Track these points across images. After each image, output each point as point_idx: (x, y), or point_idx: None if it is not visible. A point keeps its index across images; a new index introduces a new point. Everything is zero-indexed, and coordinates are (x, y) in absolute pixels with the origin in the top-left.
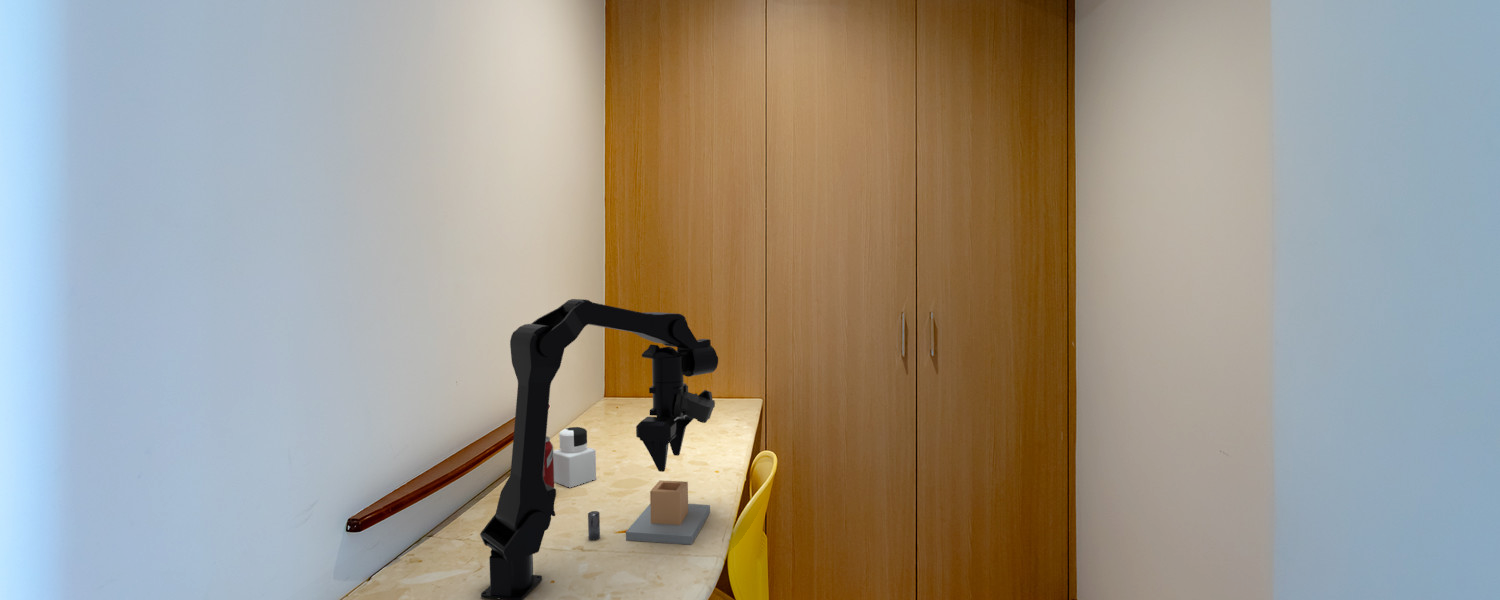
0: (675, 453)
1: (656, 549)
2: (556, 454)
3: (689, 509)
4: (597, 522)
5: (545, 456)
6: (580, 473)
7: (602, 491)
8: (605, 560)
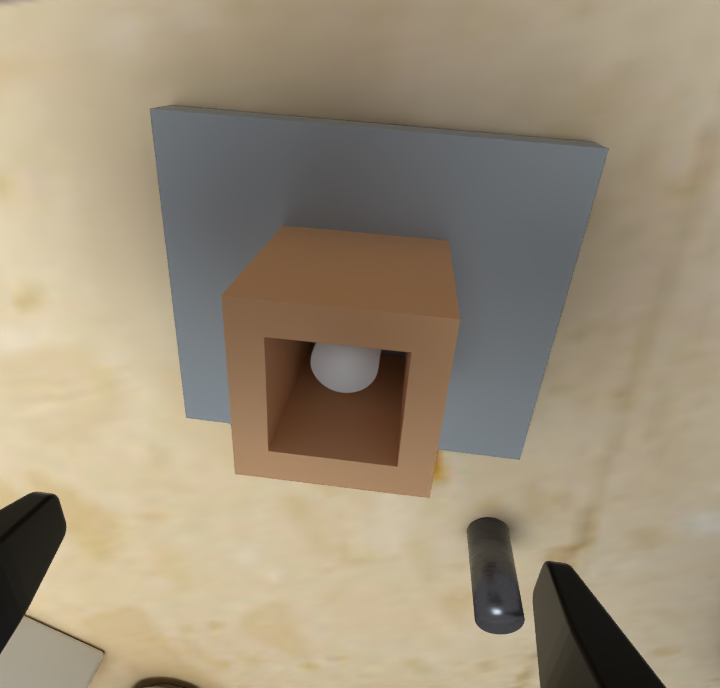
0: (49, 533)
1: (619, 306)
2: None
3: (241, 225)
4: (509, 576)
5: None
6: (41, 675)
7: (92, 574)
8: (686, 469)
